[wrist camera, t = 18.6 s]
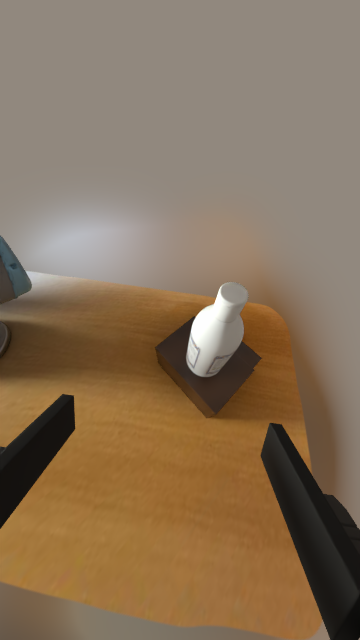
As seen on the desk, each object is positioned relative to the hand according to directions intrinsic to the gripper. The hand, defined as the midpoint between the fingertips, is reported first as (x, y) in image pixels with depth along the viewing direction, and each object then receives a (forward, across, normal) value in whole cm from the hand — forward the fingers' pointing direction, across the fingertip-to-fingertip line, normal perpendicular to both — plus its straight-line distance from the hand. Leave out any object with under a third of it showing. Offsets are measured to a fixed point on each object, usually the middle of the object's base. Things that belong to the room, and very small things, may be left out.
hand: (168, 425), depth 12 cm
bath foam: (+22, +5, -6) cm, 24 cm away
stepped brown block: (+31, +7, -11) cm, 34 cm away
